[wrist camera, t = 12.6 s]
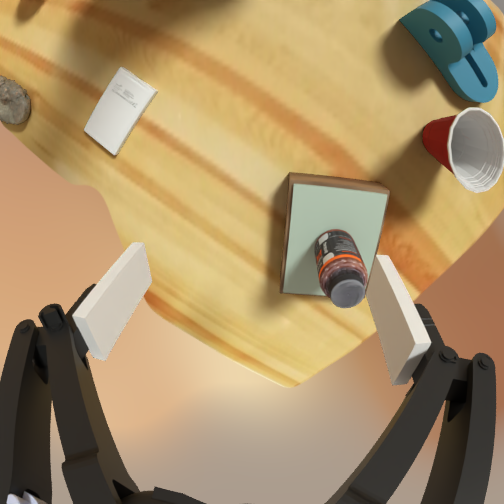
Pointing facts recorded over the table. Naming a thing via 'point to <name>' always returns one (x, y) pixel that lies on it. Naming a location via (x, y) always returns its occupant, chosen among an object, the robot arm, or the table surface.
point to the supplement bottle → (340, 268)
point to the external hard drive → (119, 110)
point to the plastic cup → (468, 147)
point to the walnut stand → (328, 224)
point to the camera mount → (458, 44)
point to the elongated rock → (13, 102)
